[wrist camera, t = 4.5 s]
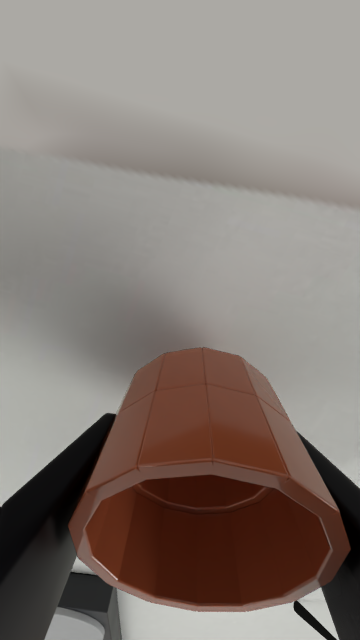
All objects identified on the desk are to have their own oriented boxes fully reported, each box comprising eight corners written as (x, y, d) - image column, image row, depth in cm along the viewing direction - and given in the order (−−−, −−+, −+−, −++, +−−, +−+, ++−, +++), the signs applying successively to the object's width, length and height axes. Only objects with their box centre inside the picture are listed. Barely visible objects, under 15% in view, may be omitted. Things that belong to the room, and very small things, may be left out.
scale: (25, 567, 20) (2, 611, 18) (115, 577, 20) (104, 624, 17) (58, 645, 28) (46, 684, 26) (123, 654, 28) (117, 693, 25)
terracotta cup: (108, 424, 9) (42, 569, 5) (164, 313, 7) (128, 410, 3) (221, 470, 10) (242, 631, 6) (302, 380, 8) (422, 532, 4)
